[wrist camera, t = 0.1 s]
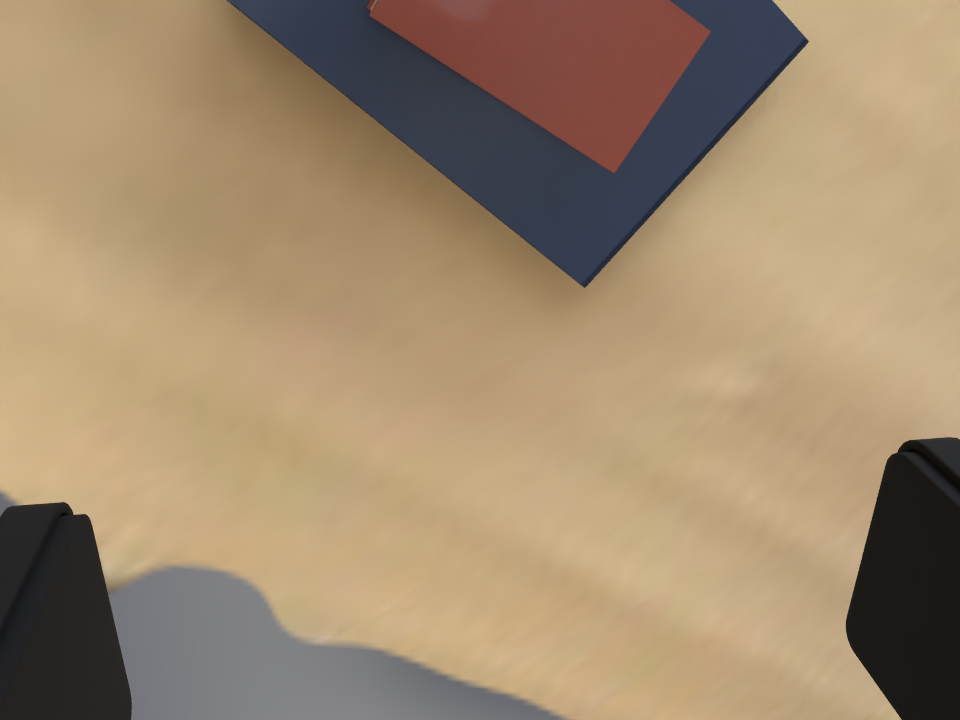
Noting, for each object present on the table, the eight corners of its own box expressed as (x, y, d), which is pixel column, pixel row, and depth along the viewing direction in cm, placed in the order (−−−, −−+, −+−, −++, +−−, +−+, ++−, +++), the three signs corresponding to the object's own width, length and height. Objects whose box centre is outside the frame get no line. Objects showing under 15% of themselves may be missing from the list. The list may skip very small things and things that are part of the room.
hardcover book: (437, -344, 31) (445, -366, 29) (781, 34, 39) (809, 41, 37) (215, -20, 35) (206, -16, 33) (571, 268, 43) (584, 288, 40)
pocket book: (450, -148, 32) (462, -156, 29) (678, 22, 36) (711, 31, 33) (366, 7, 34) (369, 15, 31) (591, 153, 38) (614, 174, 34)
